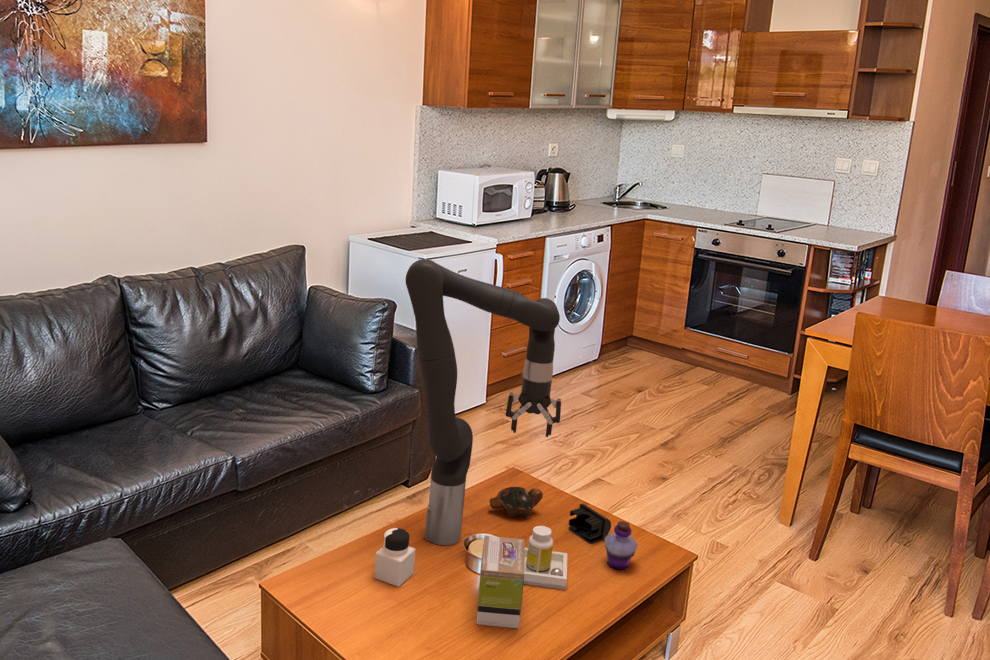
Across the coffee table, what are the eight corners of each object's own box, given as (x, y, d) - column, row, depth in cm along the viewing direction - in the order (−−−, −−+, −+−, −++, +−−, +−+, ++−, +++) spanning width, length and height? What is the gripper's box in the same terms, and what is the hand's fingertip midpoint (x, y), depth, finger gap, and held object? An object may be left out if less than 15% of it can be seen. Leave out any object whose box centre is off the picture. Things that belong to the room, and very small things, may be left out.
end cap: (609, 538, 232) (613, 516, 230) (591, 545, 228) (594, 523, 226) (584, 522, 239) (587, 501, 237) (566, 528, 235) (569, 507, 233)
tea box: (478, 587, 204) (484, 533, 200) (519, 591, 204) (526, 537, 199) (475, 625, 189) (480, 568, 185) (519, 630, 189) (526, 573, 185)
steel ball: (549, 581, 207) (551, 571, 206) (550, 575, 210) (551, 564, 209) (561, 583, 207) (563, 572, 206) (562, 576, 210) (563, 566, 209)
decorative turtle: (545, 520, 238) (547, 496, 235) (493, 525, 235) (494, 500, 232) (536, 502, 247) (538, 478, 244) (486, 506, 244) (487, 482, 241)
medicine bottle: (414, 573, 207) (417, 530, 203) (398, 587, 200) (402, 543, 197) (389, 564, 209) (392, 521, 206) (373, 578, 203) (376, 534, 200)
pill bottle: (550, 564, 215) (555, 525, 211) (549, 577, 209) (554, 538, 206) (526, 560, 215) (531, 522, 212) (524, 574, 209) (529, 534, 206)
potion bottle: (640, 569, 218) (647, 528, 215) (615, 576, 214) (621, 535, 210) (619, 552, 225) (625, 512, 222) (594, 559, 221) (600, 519, 217)
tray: (508, 582, 207) (510, 571, 206) (512, 556, 218) (513, 546, 218) (565, 589, 206) (566, 579, 205) (565, 563, 218) (567, 553, 217)
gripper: (509, 377, 213) (502, 436, 217) (565, 384, 212) (557, 443, 216) (511, 368, 220) (505, 425, 224) (565, 374, 219) (558, 431, 223)
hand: (530, 433), depth 220 cm, fingers open, 8 cm apart
